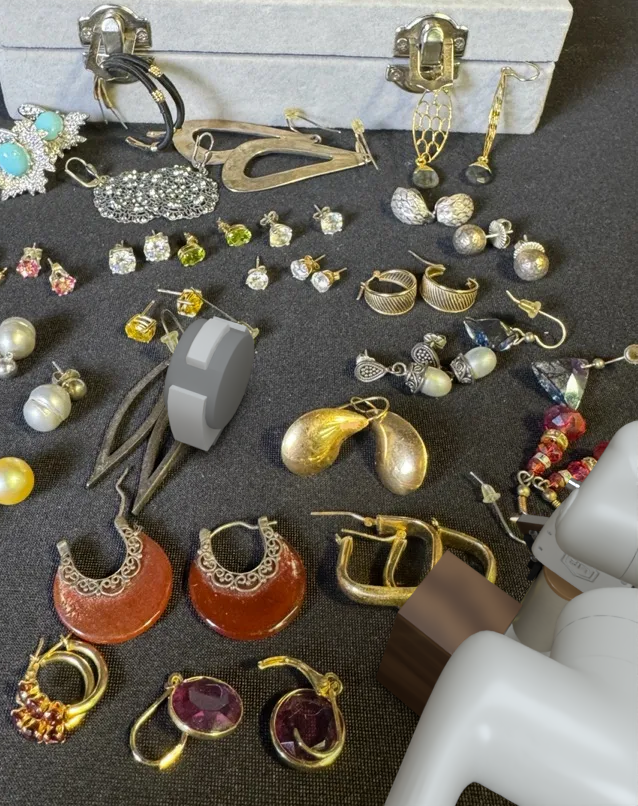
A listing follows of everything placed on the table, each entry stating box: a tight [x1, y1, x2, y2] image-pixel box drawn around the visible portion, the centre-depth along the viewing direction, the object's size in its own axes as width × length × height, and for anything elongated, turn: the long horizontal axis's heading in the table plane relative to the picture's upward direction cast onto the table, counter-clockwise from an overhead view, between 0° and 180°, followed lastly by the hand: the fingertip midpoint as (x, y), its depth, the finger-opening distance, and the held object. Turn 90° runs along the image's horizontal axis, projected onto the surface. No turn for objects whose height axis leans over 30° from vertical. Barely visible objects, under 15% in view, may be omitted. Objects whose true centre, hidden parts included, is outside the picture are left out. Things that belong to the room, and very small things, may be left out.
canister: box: [512, 564, 583, 652], centre depth 96 cm, size 7×7×16 cm
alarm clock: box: [163, 315, 255, 452], centre depth 126 cm, size 18×8×20 cm, turn 157°
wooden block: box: [375, 549, 523, 717], centre depth 98 cm, size 10×10×22 cm
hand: (562, 590), depth 93 cm, fingers closed on canister, 6 cm apart
